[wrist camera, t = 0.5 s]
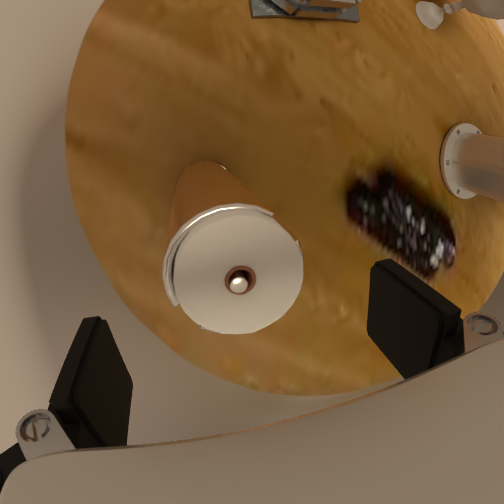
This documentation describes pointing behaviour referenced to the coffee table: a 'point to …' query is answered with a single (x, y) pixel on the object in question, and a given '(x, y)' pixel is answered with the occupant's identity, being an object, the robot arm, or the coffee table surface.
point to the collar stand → (306, 9)
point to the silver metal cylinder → (228, 254)
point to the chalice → (481, 3)
